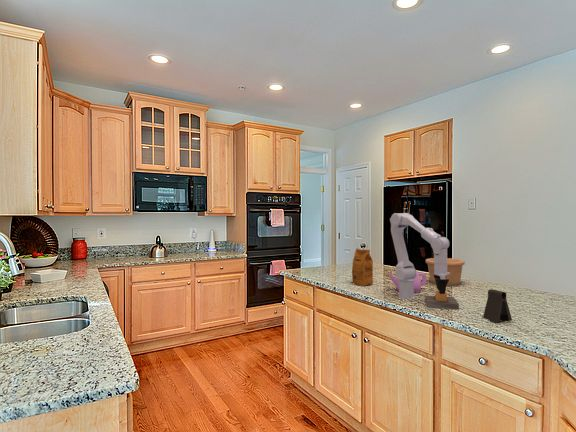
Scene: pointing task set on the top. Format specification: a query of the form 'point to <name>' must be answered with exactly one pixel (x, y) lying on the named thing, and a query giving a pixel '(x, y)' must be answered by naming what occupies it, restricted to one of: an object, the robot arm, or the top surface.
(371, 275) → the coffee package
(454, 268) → the pottery
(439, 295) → the orange block
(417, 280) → the teakettle
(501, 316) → the phone stand
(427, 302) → the pocket holder
